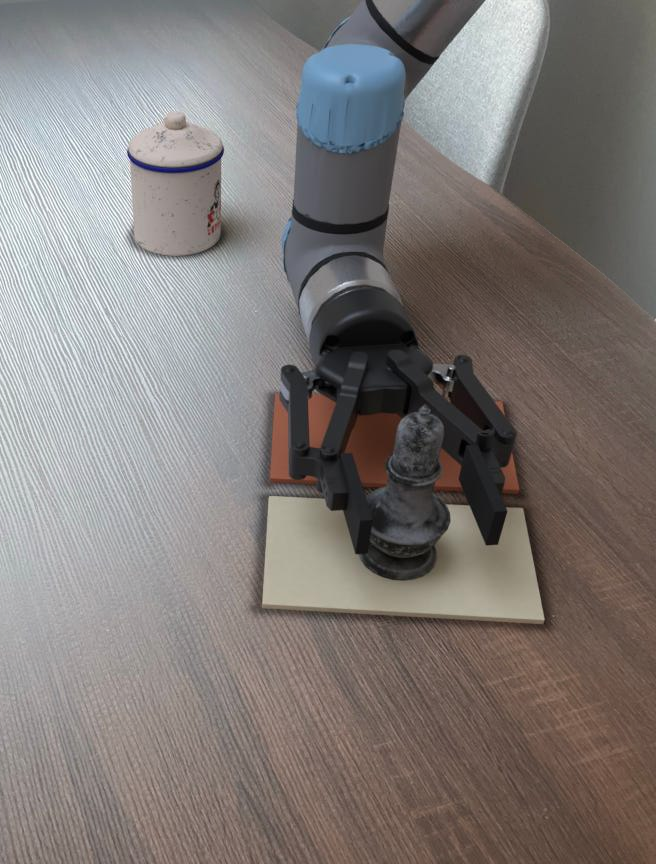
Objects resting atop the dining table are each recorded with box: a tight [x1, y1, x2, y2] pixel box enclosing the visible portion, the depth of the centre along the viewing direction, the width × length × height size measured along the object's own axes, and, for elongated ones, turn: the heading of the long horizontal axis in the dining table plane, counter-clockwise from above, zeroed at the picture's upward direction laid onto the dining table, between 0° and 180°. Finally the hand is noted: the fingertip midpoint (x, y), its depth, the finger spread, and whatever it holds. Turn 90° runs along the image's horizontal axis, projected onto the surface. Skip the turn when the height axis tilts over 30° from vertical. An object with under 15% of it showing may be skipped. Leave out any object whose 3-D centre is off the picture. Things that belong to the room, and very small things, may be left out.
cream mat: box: [261, 495, 546, 625], centre depth 70 cm, size 18×11×1 cm, turn 84°
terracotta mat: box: [269, 392, 520, 495], centre depth 79 cm, size 18×11×1 cm, turn 84°
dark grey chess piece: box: [359, 405, 451, 581], centre depth 65 cm, size 6×6×12 cm
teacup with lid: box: [126, 110, 225, 257], centre depth 99 cm, size 12×9×12 cm
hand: (430, 532), depth 62 cm, fingers open, 7 cm apart
